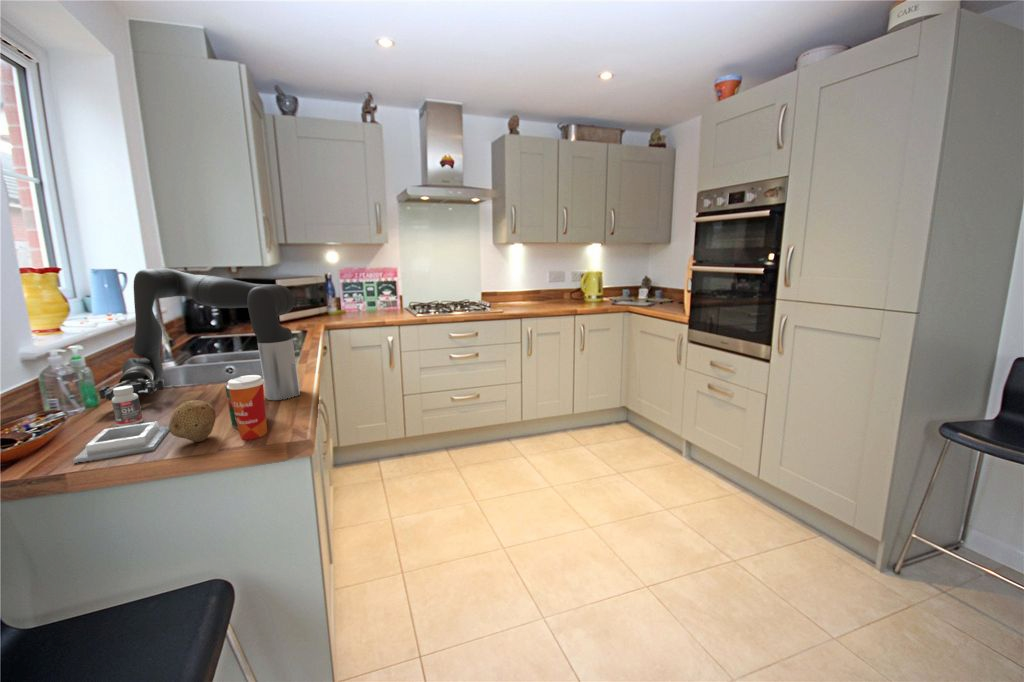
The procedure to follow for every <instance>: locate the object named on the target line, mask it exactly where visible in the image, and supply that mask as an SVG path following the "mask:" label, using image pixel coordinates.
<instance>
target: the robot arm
mask: <svg viewBox="0 0 1024 682" xmlns="http://www.w3.org/2000/svg"><path fill="white" fill-rule="evenodd" d="M173 297H186V298H192V300H194V301H195V302H197V304H200V305H202V306H206V307H211V308H212V307H213V308H216V309H217V308H218V309H219V308H220V309H238V308H239V309H240V308H243V309H244V308H247V309H248V314H249V319H250V323H251V327H252V331H253V334H254V335H255V337H256V341H257V348H258V354H259V359H260V360H259V361H260V367H261V372H262V373H261V374H262V375H261V376H262V380H264V383H263V389H264V395H265V398H267V399H266V400H269V401H282V399H283V400H287V398H288V399H292V398H295V397H299V396H298V395H301V387H300V381H299V375H298V374H299V373H298V366H297V365H298V364H297V361H296V355H295V347H294V340H293V334H292V329H290V328H289V327H285V326H282V325H281V324H280V321H279V317H280V316H283V315H285V314H288V313H289V312H291V310H293V308H294V307H295V303H296V299H295V296H294V293H293V292H292V291H291V290H290V289H289V288H288V287H287V286H284V285H282V284H275V283H273V284H272V283H271V284H270V283H269V284H267V283H265V284H264V283H263V284H262V283H252V282H247V281H242V280H238V279H233V278H226V277H223V276H222V277H221V276H215V275H207V274H192V273H187V272H183V271H180V270H177V269H173V268H168V267H165V268H164V267H162V268H158V267H157V268H148V269H147V268H146V269H140V270H139V271H137V273H136V274H135V276H134V279H133V301H134V303H133V305H134V315H135V329H134V330H135V331H134V336H133V344H132V352H133V353H134V354H135V355H136V356H138V357H130V358H128V359H125V361H124V362H123V364H122V367H121V368H122V370H121V372H122V376H121V377H120V379H119V381H118V383H116V384H114V385H113V386H110V385H109V384H104V385H103V386H101V388H99V389H98V395H99V398H100V400H104V399H105V400H107V401H109V402H110V401H111V402H112V398H113V397H115V395H114V394H113V389H114V388H117V387H121V386H133V393H135V394H137V395H138V397H139V396H143V395H144V394H146V393H147V394H148V395H152V394H153V393H155V392H156V391H157V389H158V390H164V389H165V383H164V378H163V373H164V367H163V362H162V360H161V359H162V358H161V345H162V339H163V330H162V326H161V324H160V323H159V321H158V319H157V317H156V315H155V314H154V304H155V301H156V300H159V299H165V298H173ZM140 357H141V358H140ZM294 396H295V397H294ZM291 397H292V398H291Z"/></svg>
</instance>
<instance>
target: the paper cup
mask: <svg viewBox="0 0 1024 682" xmlns="http://www.w3.org/2000/svg"><path fill="white" fill-rule="evenodd" d="M227 382H228V385H227V389H229V392H230V397H231V401H232V405H233V409H234V413H235V418H236V422H237V426H238V428H237V429H238V433H239V436H240V439H241V440H244V441H245V440H246V441H249V440H256V439H260V438H262V437H264V436H266V435H267V434H266V433H268V428H267V427H268V425H267V419H266V418H267V415H266V414H267V413H266V404H265V403H266V402H265V388H264V380H263V376H262V375H258V374H249V375H241V376H238V377H235V378H231V379H229V380H228V381H227ZM265 434H266V435H265ZM263 435H264V436H263ZM261 436H262V437H261ZM259 437H260V438H259Z"/></svg>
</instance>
